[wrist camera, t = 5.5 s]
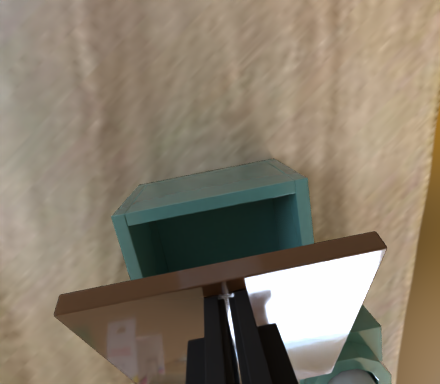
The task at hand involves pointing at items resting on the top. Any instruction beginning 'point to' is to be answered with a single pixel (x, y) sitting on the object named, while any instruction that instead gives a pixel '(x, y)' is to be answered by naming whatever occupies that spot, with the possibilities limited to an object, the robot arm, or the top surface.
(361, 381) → the flush button
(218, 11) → the top surface
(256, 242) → the teal bin
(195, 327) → the brown rectangular panel
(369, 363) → the flush button base
